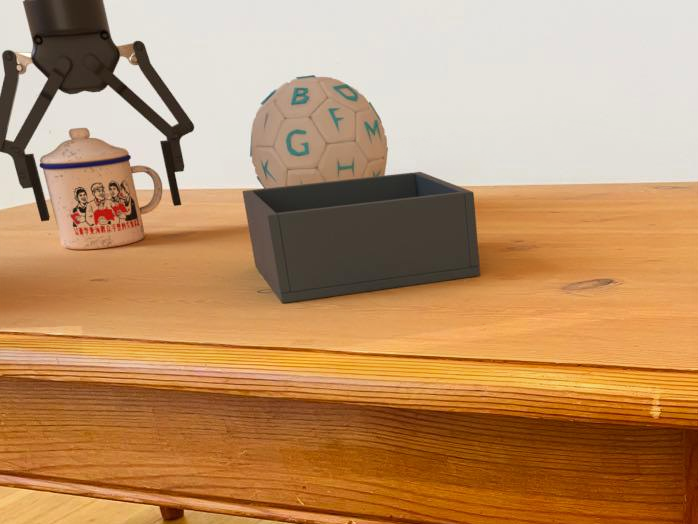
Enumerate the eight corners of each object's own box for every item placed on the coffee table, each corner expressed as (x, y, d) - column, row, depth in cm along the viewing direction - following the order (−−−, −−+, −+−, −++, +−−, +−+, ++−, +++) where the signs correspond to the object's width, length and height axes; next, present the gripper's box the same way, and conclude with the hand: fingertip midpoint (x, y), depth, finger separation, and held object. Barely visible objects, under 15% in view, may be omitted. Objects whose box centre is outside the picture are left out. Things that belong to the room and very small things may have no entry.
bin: (282, 303, 85) (267, 215, 82) (255, 267, 99) (242, 190, 96) (480, 275, 90) (473, 191, 87) (428, 244, 104) (420, 171, 101)
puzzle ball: (407, 204, 129) (392, 68, 122) (378, 227, 115) (359, 75, 109) (285, 210, 130) (264, 76, 124) (242, 233, 117) (216, 84, 110)
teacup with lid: (74, 254, 111) (45, 134, 106) (49, 244, 118) (21, 131, 113) (186, 235, 118) (163, 122, 113) (156, 227, 124) (134, 120, 119)
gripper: (-82, -1, 100) (-16, 231, 110) (192, -17, 108) (233, 202, 117) (-72, 1, 107) (-10, 220, 116) (187, -14, 114) (225, 194, 123)
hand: (112, 211), depth 117 cm, fingers open, 13 cm apart
